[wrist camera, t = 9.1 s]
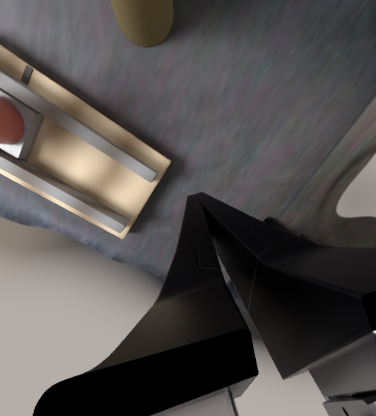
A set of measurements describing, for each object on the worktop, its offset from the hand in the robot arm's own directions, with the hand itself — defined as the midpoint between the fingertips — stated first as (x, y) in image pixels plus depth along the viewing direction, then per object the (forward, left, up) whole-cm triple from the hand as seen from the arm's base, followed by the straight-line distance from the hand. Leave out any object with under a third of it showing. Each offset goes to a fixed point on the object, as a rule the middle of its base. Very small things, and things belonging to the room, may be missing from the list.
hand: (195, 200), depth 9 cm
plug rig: (+14, +6, -13) cm, 20 cm away
